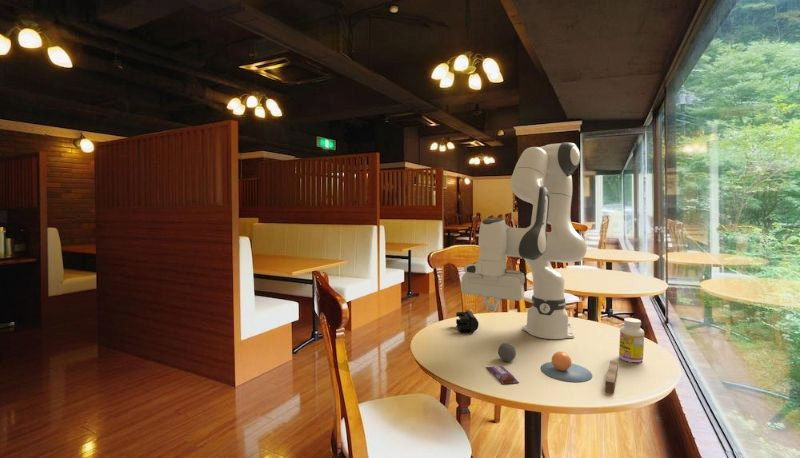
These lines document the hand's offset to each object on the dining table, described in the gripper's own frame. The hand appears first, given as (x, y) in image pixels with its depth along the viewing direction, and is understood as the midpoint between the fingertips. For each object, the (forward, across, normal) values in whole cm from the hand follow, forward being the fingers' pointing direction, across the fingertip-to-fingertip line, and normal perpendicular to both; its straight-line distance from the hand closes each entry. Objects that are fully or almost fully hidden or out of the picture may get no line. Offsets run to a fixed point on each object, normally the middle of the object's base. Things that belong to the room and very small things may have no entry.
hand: (491, 310), depth 128 cm
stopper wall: (+15, -35, 0) cm, 38 cm away
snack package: (+16, -8, +12) cm, 22 cm away
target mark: (+15, -23, 0) cm, 28 cm away
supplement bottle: (+15, -39, -21) cm, 47 cm away
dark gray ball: (+12, -6, +1) cm, 14 cm away
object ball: (+12, -22, 0) cm, 25 cm away
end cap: (+15, +17, -21) cm, 31 cm away
